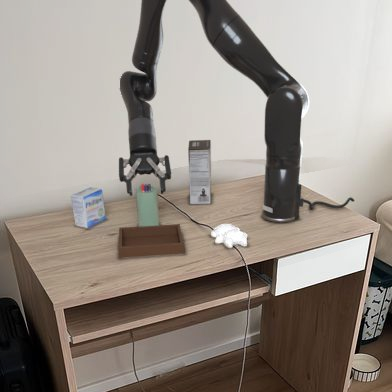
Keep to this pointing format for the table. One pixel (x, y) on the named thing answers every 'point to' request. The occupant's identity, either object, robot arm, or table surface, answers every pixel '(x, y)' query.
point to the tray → (150, 240)
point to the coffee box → (200, 171)
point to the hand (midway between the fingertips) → (146, 193)
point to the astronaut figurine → (229, 235)
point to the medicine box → (88, 207)
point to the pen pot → (147, 205)
